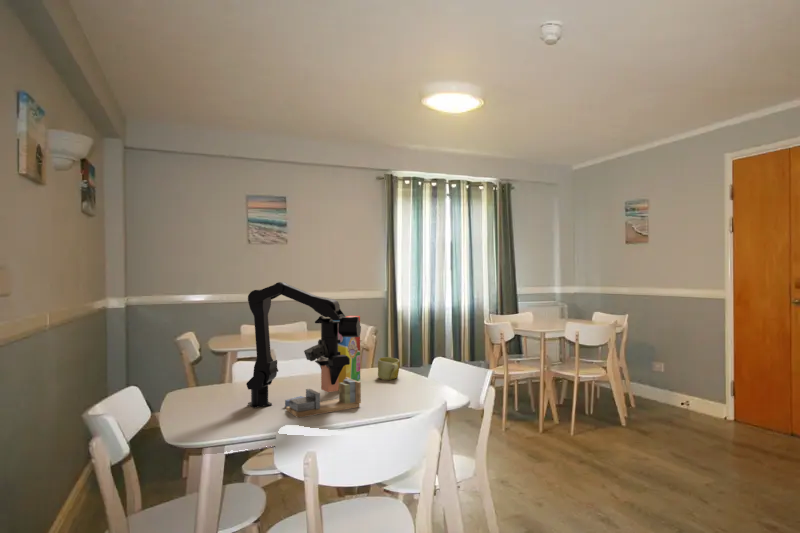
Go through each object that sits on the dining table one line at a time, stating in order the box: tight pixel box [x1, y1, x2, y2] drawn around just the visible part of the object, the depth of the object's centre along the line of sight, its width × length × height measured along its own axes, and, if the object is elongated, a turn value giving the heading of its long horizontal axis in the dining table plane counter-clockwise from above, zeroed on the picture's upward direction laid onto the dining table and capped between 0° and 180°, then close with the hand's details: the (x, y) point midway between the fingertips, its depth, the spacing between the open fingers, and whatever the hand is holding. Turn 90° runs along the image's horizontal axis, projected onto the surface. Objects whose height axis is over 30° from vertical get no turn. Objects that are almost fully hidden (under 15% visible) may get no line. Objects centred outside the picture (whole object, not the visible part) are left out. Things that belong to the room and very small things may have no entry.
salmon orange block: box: [320, 365, 339, 393], centre depth 170 cm, size 5×4×8 cm
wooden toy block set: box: [285, 377, 362, 418], centre depth 169 cm, size 10×22×8 cm, turn 123°
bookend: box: [289, 388, 321, 412], centre depth 165 cm, size 8×8×5 cm
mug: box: [377, 356, 401, 381], centre depth 217 cm, size 12×10×10 cm
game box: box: [333, 315, 361, 383], centre depth 206 cm, size 21×6×27 cm, turn 168°
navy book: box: [284, 395, 304, 408], centre depth 173 cm, size 5×7×2 cm
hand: (329, 383), depth 170 cm, fingers closed on salmon orange block, 5 cm apart
